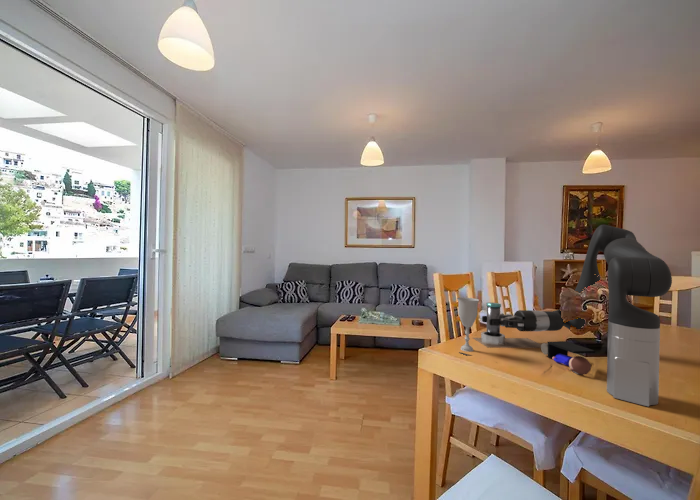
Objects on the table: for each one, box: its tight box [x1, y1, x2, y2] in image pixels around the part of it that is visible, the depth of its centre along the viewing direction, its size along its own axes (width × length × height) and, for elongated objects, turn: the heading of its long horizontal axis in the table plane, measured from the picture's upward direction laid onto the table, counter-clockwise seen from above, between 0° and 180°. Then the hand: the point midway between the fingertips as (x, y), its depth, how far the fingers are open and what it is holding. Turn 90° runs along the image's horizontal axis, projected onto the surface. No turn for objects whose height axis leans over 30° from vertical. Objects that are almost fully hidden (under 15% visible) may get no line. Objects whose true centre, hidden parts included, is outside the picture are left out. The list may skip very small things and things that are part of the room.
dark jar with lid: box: [486, 302, 502, 336], centre depth 114 cm, size 5×5×14 cm
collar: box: [480, 330, 506, 346], centre depth 114 cm, size 8×8×3 cm
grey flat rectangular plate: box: [472, 337, 542, 349], centre depth 115 cm, size 22×12×1 cm, turn 93°
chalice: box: [456, 297, 480, 357], centre depth 105 cm, size 7×7×18 cm
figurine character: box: [540, 340, 596, 376], centre depth 94 cm, size 7×8×15 cm
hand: (486, 320), depth 114 cm, fingers open, 4 cm apart
